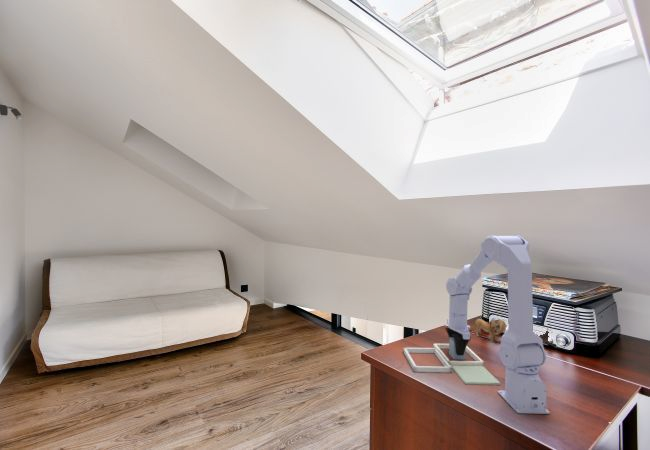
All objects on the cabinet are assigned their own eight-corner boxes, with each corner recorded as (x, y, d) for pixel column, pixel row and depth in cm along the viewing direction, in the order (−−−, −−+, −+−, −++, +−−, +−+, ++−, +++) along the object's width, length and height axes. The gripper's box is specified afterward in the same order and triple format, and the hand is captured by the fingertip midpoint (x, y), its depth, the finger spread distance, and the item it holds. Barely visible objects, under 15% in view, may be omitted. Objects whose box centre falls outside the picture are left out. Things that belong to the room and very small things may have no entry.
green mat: (500, 384, 91) (500, 382, 91) (465, 384, 91) (465, 382, 91) (483, 368, 101) (483, 366, 101) (451, 367, 101) (451, 365, 101)
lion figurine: (508, 342, 122) (509, 319, 122) (501, 345, 119) (502, 322, 119) (472, 331, 134) (472, 310, 134) (465, 333, 131) (465, 312, 131)
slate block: (465, 359, 107) (465, 341, 107) (453, 359, 107) (454, 341, 107) (460, 354, 111) (460, 337, 111) (449, 354, 111) (449, 336, 111)
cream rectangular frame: (484, 367, 102) (484, 362, 102) (448, 366, 102) (448, 361, 102) (464, 348, 116) (464, 344, 116) (433, 347, 116) (433, 343, 116)
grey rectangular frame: (451, 372, 98) (452, 367, 98) (414, 372, 98) (414, 367, 98) (435, 352, 112) (435, 348, 112) (403, 351, 113) (403, 347, 112)
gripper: (480, 320, 101) (478, 361, 102) (460, 307, 116) (460, 343, 116) (458, 319, 101) (456, 361, 102) (441, 306, 116) (440, 343, 116)
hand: (457, 352), depth 109 cm, fingers closed on slate block, 4 cm apart
